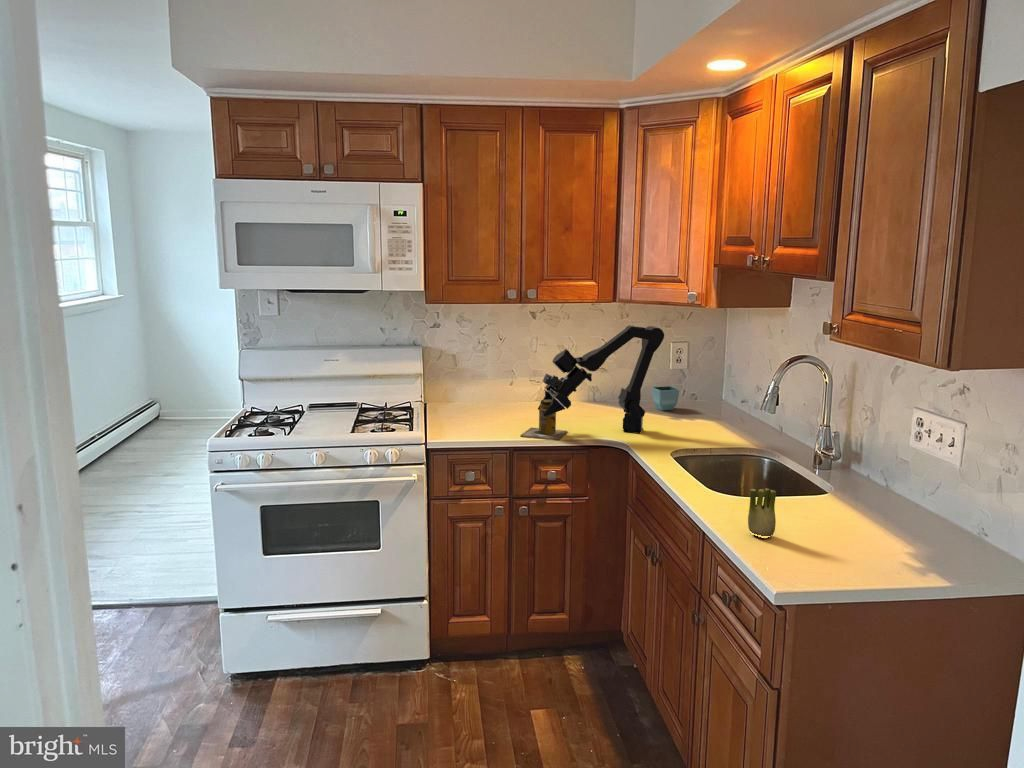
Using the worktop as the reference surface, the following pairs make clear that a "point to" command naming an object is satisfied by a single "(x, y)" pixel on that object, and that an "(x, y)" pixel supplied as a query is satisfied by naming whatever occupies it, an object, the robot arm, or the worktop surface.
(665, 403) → the flower pot
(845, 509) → the worktop surface
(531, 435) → the walnut coaster
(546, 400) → the condiment
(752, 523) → the fennel bulb
